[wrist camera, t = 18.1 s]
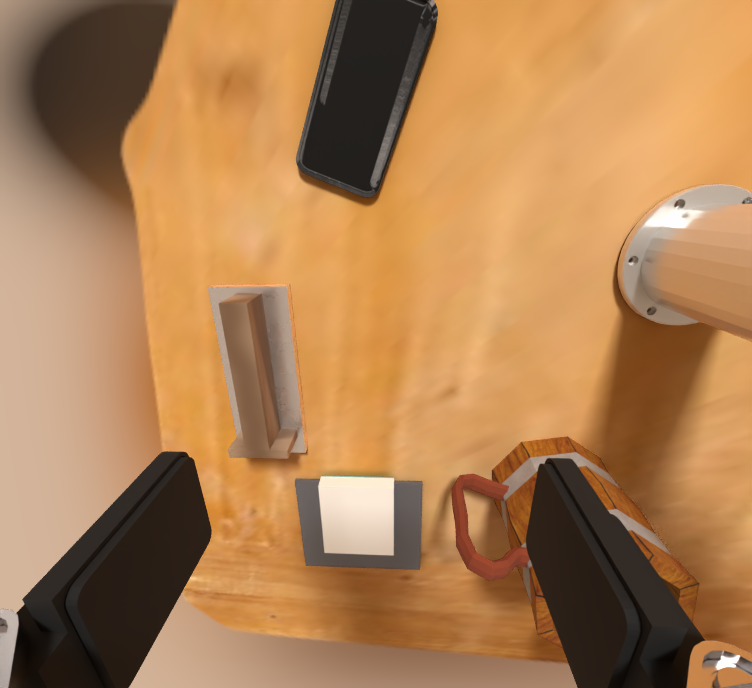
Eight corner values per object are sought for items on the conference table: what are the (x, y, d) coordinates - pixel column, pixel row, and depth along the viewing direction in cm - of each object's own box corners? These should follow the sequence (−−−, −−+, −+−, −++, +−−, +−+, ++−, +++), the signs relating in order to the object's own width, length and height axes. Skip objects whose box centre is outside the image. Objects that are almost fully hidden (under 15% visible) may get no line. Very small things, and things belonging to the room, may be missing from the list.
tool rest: (289, 283, 37) (286, 286, 36) (307, 446, 44) (305, 452, 43) (213, 284, 37) (207, 287, 36) (243, 445, 44) (239, 451, 43)
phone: (442, 2, 27) (374, 201, 33) (440, 10, 28) (375, 201, 34) (345, -42, 27) (291, 168, 32) (346, -33, 28) (295, 169, 33)
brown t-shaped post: (280, 292, 36) (267, 303, 32) (297, 436, 42) (288, 458, 38) (218, 293, 36) (197, 303, 33) (244, 435, 42) (229, 457, 39)
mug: (623, 448, 42) (737, 571, 28) (576, 531, 47) (653, 671, 33) (458, 414, 41) (490, 521, 27) (428, 502, 46) (442, 631, 32)
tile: (393, 488, 42) (393, 555, 46) (393, 476, 44) (393, 542, 48) (318, 486, 43) (324, 552, 47) (321, 474, 45) (327, 539, 49)
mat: (422, 481, 45) (422, 484, 45) (419, 566, 50) (419, 569, 50) (295, 478, 46) (294, 481, 45) (306, 562, 51) (305, 565, 51)
